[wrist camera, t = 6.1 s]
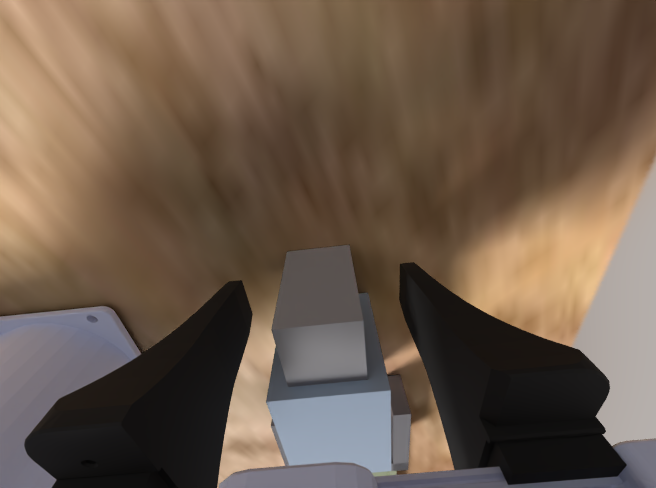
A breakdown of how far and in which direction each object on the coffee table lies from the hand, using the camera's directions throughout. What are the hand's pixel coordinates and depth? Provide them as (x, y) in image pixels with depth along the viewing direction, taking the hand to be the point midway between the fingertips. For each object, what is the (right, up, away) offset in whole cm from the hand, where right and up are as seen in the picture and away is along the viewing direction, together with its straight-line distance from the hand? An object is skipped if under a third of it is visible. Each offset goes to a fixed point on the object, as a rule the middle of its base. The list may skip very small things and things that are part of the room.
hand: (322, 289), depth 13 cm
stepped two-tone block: (0, -2, +3) cm, 3 cm away
